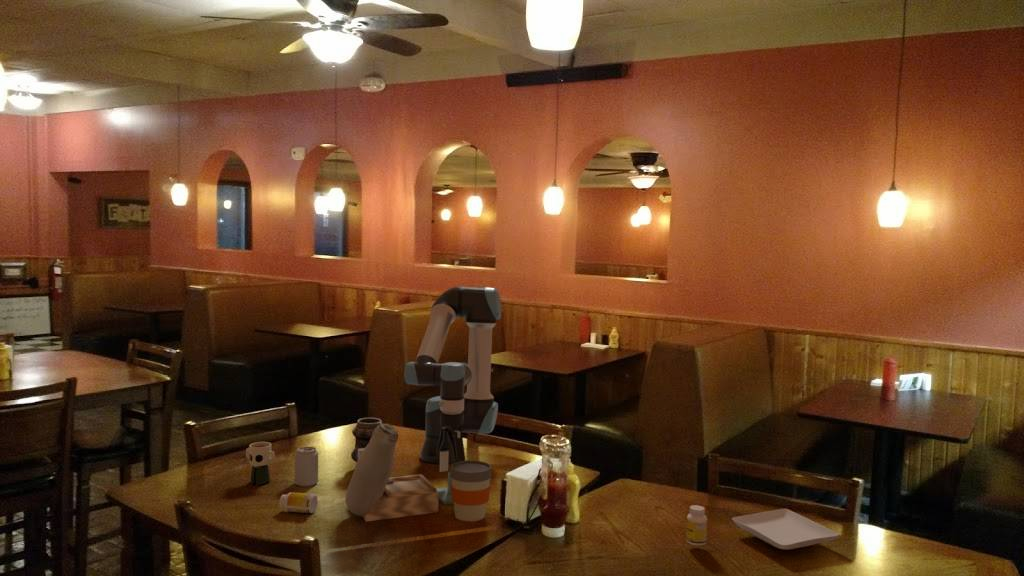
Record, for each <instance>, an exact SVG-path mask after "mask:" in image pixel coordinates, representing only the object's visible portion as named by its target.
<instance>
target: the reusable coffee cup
mask: <svg viewBox="0 0 1024 576" xmlns="http://www.w3.org/2000/svg"><path fill="white" fill-rule="evenodd" d="M449 472H450V477H451V482H452V483H451V485H450V486H451V495H452V501H453V502H454V503H453V509H454V510H453V511H454V518H456V519H458V520H459V521H462V522H478V521H481V520H483V519H485V517H486V511H487V505H488V502H489V500H490V494H491V493H490V492H491V487H492V486H491V485H492V484H491V479H492V477H493V472H492V466H491V464H490V463H488V462H485V461H480V460H471V459H470V460H466V461H459V462H456V463H454V464H453V463H451V466H450V471H449Z"/></svg>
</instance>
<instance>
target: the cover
mask: <svg viewBox="0 0 1024 576" xmlns="http://www.w3.org/2000/svg"><path fill="white" fill-rule="evenodd" d="M451 483H452V482H451V477H450V471H449V472H448V471H447V486H445V487H437V488H436V487H435V488H436V491H437V492H438V493H439V495H438V500H440V501H441V502H442V503H443V504H444V505H450V504H454V502H453V501H452V495H451V486H450V485H451Z"/></svg>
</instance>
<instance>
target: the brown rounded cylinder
mask: <svg viewBox="0 0 1024 576" xmlns="http://www.w3.org/2000/svg"><path fill="white" fill-rule="evenodd" d="M398 441H399V432H398V431H397V429H396V428H395V427H394V426H392V425H390V424H389V423H382V424H380V425H378V426H377V427H376V428H375V430H374V431H373V434H372V437H371V439H370V442H369V444H368V445H367V446H366V448H365V449H364V451H363V452H362V454H361V455H360V457H359V459H358V461H357V462H356V463H355V466H354V470H353V472H352V475H351V479H350V481H349V484H348V487H347V489H346V493H345V505H346V508H347V509H348V511H349V512H350V513H352V514H354V515H355V516H358V517H362V516H365V515H366V514H368V513H370V512H371V511H372V510H373V508H374V506H375V505H376V503H377V501H378V500H379V499H380V498H382V495H383V493H384V490H385V488H386V485H387V483H388V480H389V478H391V474H392V472H393V468H394V464H395V463H394V462H395V450H396V445H397V443H398Z"/></svg>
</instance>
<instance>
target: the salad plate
mask: <svg viewBox="0 0 1024 576" xmlns="http://www.w3.org/2000/svg"><path fill="white" fill-rule="evenodd" d="M731 521H733V523H734V524H735V525H736V526H738V527H740V528H741V529H742V530H744V531H747V532H748V533H749V534H751V535H752V536H754V537H756V538H758V539H760V540H762V541H764V542H765V543H767V544H769V545H771V546H773V547H775V548H777V549H780V550H795V549H799V548H804V547H809V546H813V545H817V544H821V543H822V544H823V543H827V542H831V541H832V540H833V541H834V540H835V539H837V538H838V537H839V536H840V534H839V533H838V532H836V531H835V530H832V529H830V528H828V527H826V526H823V525H822V524H820V523H818V522H816V521H813V520H811V519H810V518H807V517H805V516H804V515H801V514H799V513H798V512H794V511H792V510H790V509H788V508H779V509H774V510H768V511H762V512H757V513H751V514H745V515H739V516H734V517H732V518H731Z"/></svg>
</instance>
